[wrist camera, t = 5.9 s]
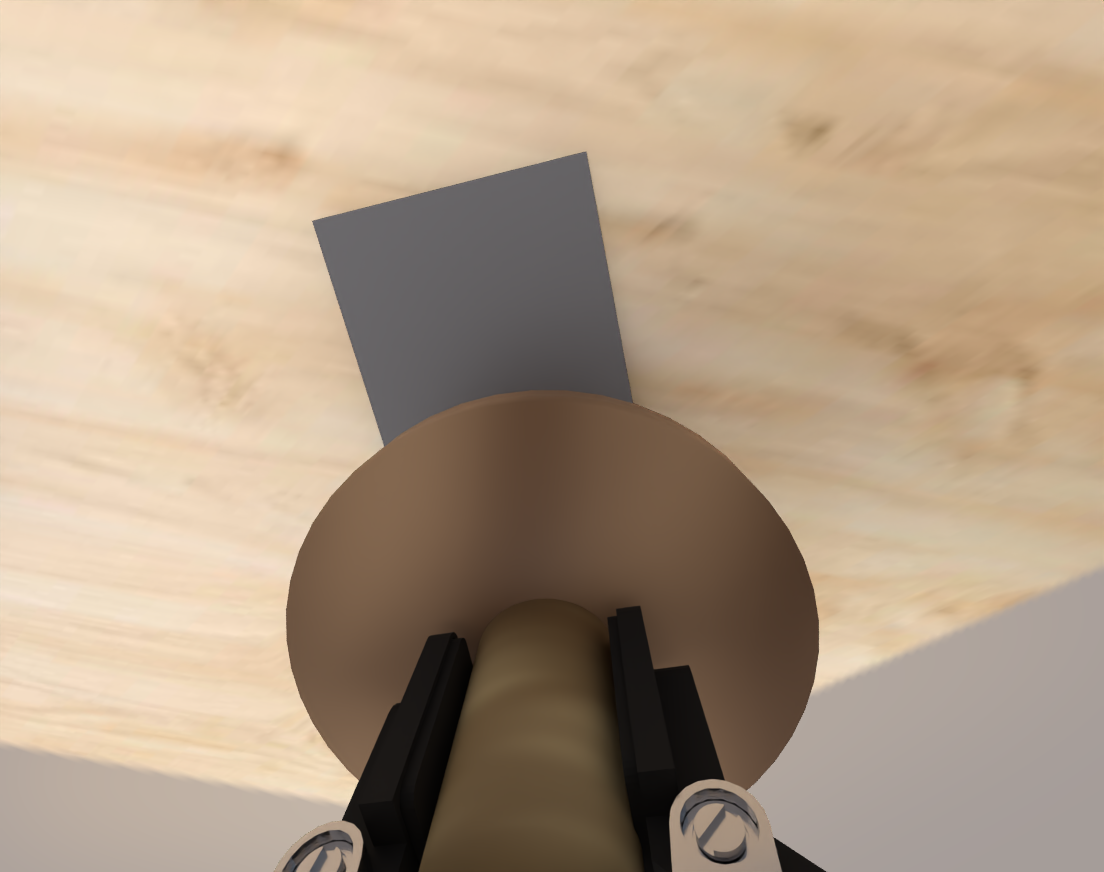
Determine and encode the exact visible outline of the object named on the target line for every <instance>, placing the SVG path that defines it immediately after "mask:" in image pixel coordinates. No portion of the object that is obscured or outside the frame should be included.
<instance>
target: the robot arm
mask: <svg viewBox="0 0 1104 872" xmlns="http://www.w3.org/2000/svg"><path fill="white" fill-rule="evenodd" d="M616 615H617V616H611V617H607V620H608V630H609V640H610V650H611V659H612V669H613V679H614V688H615V698H616V708H617V718H618V727H619V737H620V747H621V756H622V764H623V771H624V778H625V784H626V790H627V795H628V800H629V805H630V810H631V815H632V820H633V825H634V829H635V831H636V833H637V835H638V837H639V840H640V844H641V847H642V854H643V862H644V870H645V872H826V871H824V870H823V869H821V868H820V867H818V866H817V865H815V864H814V863H812V862H811V861H809V860H808V859H806V858H805V857H803V856H801V855H800V854H798V853H797V852H795V851H794V850H792V849H791V848H789V847H788V846H786V845H785V844H783V843H782V842H780V841H779V840H777V839H776V838H774V837H773V834H772V830H771V826H770V823H769V820H768V818H767V815H766V813H765V811H764V809H763V807H762V806H761V805H760V804H759V802H758V801H757V800H756V799H755V797H754V796H752V795H751V794H750V793H749V792H747V791H746V790H745V789H743V788H742V787H740V786H738V785H735V784H733V783H730V782H728V781H725V779H724V775H723V772H722V769H721V766H720V763H719V759H718V756H717V753H716V750H715V746H714V743H713V740H712V737H711V733H710V730H709V727H708V724H707V720H706V717H705V714H704V711H703V708H702V704H701V701H700V698H699V695H698V691H697V688H696V685H695V682H694V678H693V675H692V672H691V669H690V667H689V665H684V666H676V667H668V668H661V669H654V668H653V663H652V659H651V654H650V649H649V644H648V640H647V635H646V630H645V625H644V621H643V616H642V611H641V607H640V605H639V606H632V607H625V608H618V609H616ZM472 669H473V664H472V660H471V657H470V653H469V649H468V646H467V642H466V640H465V638H458V636H457V635H456V633H454V632H451V633H444V634H437V635H430V636H429V637H428V639H427V641H426V643H425V645H424V648H423V650H422V652H421V655H420V657H419V660H418V662H417V664H416V667H415V669H414V672H413V674H412V676H411V679H410V681H409V684H408V686H407V688H406V691H405V693H404V696H403V698H402V700H401V703H396V704H395V705H393V706H392V708H391V710H390V711H389V713H388V715H387V718H386V720H385V722H384V725H383V727H382V729H381V731H380V734H379V736H378V738H377V741H376V743H375V745H374V748H373V750H372V752H371V754H370V757H369V759H368V761H367V764H366V766H365V768H364V771H363V773H362V775H361V777H360V780H359V782H358V784H357V787H356V789H355V791H354V793H353V796H352V798H351V800H350V803H349V805H348V807H347V810H346V812H345V815H344V817H343V819H342V821H335V822H330V823H327V824H324V825H321V826H318V827H317V828H315V829H313V830H312V831H310V832H308V833H307V834H305V835H304V836H303V837H301V838H300V839H299V840H298V841H297V842H296V843H295V844H294V845H293V846H291V848H290V849H289V850H288V851H287V852H286V854H285V855H284V856H283V857H282V859H281V860H280V861H279V863H278V865H277V867H276V868H275V870H274V872H419V868H420V865H421V861H422V857H423V853H424V849H425V846H426V842H427V838H428V834H429V831H430V827H431V823H432V819H433V816H434V812H435V808H436V804H437V801H438V797H439V793H440V789H441V785H442V782H443V778H444V774H445V770H446V767H447V763H448V759H449V755H450V752H451V748H452V744H453V740H454V737H455V733H456V729H457V725H458V721H459V718H460V714H461V710H462V706H463V703H464V699H465V695H466V691H467V688H468V684H469V680H470V676H471V673H472Z"/></svg>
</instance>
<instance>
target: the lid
mask: <svg viewBox="0 0 1104 872" xmlns="http://www.w3.org/2000/svg"><path fill="white" fill-rule="evenodd" d="M639 605H640V607H641V611H642V616H643V621H644V625H645V630H646V635H647V640H648V644H649V649H650V654H651V659H652V663H653V668H654V669H661V668H668V667H676V666H684V665H689V667H690V669H691V672H692V675H693V678H694V682H695V685H696V688H697V691H698V695H699V698H700V701H701V704H702V708H703V711H704V714H705V717H706V720H707V724H708V727H709V730H710V733H711V737H712V740H713V743H714V746H715V750H716V753H717V756H718V759H719V763H720V766H721V769H722V772H723V775H724V779H725V781H728V782H730V783H733V784H735V785H738V786H740V787H742V788H743V789H745V790H748V789H749V788H750V787H751V786H752V785H753V784H754V783H756V781H758V779H759V778H760V777H761V776H762V775H763V774H764V773H765V771H766V770H767V769H768V768H769V767H770V766H771V765H772V764H773V763H774V762H775V760H776V759H777V757H778V756H779V754H780V753H781V752H782V750H783V749H784V747H785V746H786V744H787V743H788V741H789V740H790V738H791V737H792V735H793V733H794V731H795V729H796V727H797V725H798V723H799V721H800V719H801V717H802V715H803V713H804V710H805V708H806V705H807V702H808V699H809V696H810V693H811V689H812V686H813V683H814V679H815V672H816V666H817V660H818V653H819V619H818V613H817V607H816V601H815V594H814V589H813V586H812V583H811V580H810V577H809V574H808V571H807V567H806V564H805V561H804V559H803V557H802V555H801V553H800V551H799V549H798V547H797V545H796V543H795V541H794V539H793V537H792V535H791V533H790V531H789V529H788V528H787V526H786V525H785V523H784V522H783V521H782V519H781V518H780V516H779V515H778V514H777V512H776V511H775V509H774V508H773V507H772V505H771V504H770V502H769V501H768V500H767V499H766V498H765V497H764V496H763V495H762V493H761V492H760V491H759V490H758V489H757V488H756V487H755V486H754V485H753V484H752V483H751V482H750V481H749V479H748V478H747V477H746V476H745V475H744V474H743V473H742V472H741V471H740V470H739V469H738V468H737V467H736V466H735V465H734V464H733V463H732V462H731V461H730V460H729V459H728V458H727V457H726V456H725V455H724V454H723V453H721V452H720V451H719V450H717V449H716V448H715V447H714V446H712V445H711V444H710V443H709V442H707V441H706V440H705V439H703V438H702V437H701V436H700V435H698V434H696V433H694V432H693V431H691V430H689V429H688V428H686V427H684V426H682V425H681V424H679V423H677V422H676V421H674V420H672V419H670V418H668V417H666V416H663V415H661V414H659V413H656V412H654V411H651V410H649V409H647V408H644V407H642V406H639V405H637V404H633V403H630V402H626V401H622V400H618V399H615V398H611V397H607V396H603V395H597V394H590V393H582V392H575V391H567V390H529V391H521V392H513V393H505V394H497V395H492V396H489V397H485V398H481V399H477V400H473V401H470V402H466V403H462V404H459V405H457V406H455V407H452V408H450V409H447V410H445V411H442V412H440V413H438V414H435V415H433V416H430V417H429V418H427V419H425V420H423V421H422V422H420V423H418V424H417V425H415V426H413V427H411V428H410V429H408V430H406V431H405V432H403V433H401V434H400V435H399V436H397V437H396V438H395V439H394V440H392V441H391V442H390V443H389V444H387V445H386V446H385V447H384V448H382V449H381V450H380V451H378V452H377V453H376V454H375V455H374V456H372V457H371V458H370V459H369V460H367V461H366V462H365V463H364V464H363V465H361V466H360V467H359V468H358V469H357V470H355V471H354V472H353V473H352V475H351V476H350V477H349V478H348V479H347V480H346V481H345V482H344V483H343V484H342V485H341V486H340V487H339V488H338V489H337V490H336V492H335V493H334V494H333V495H332V496H331V497H330V499H329V500H328V502H327V503H326V505H325V506H324V507H323V509H322V510H321V512H320V513H319V515H318V516H317V518H316V519H315V521H314V522H313V524H312V526H311V528H310V530H309V532H308V534H307V536H306V538H305V540H304V542H303V544H302V547H301V549H300V551H299V554H298V557H297V560H296V564H295V567H294V570H293V574H292V577H291V580H290V587H289V594H288V601H287V608H286V629H287V645H288V651H289V657H290V663H291V669H292V672H293V675H294V678H295V682H296V685H297V688H298V691H299V694H300V697H301V699H302V701H303V703H304V705H305V708H306V710H307V712H308V714H309V716H310V718H311V720H312V722H313V724H314V725H315V727H316V729H317V730H318V732H319V733H320V735H321V736H322V738H323V739H324V741H325V742H326V744H327V746H328V747H329V748H330V749H331V751H332V752H333V753H334V754H335V755H336V757H337V758H338V759H339V760H340V761H341V763H342V764H343V765H344V766H345V767H346V769H347V770H348V771H349V772H350V773H352V774H353V775H354V776H355V777H356V778H357V779H358V780H360V777H361V775H362V773H363V771H364V768H365V766H366V764H367V761H368V759H369V757H370V754H371V752H372V750H373V748H374V745H375V743H376V741H377V738H378V736H379V734H380V731H381V729H382V727H383V725H384V722H385V720H386V718H387V715H388V713H389V711H390V710H391V708H392V706H393V705H395V704H396V703H401V700H402V698H403V696H404V693H405V691H406V688H407V686H408V684H409V681H410V679H411V676H412V674H413V672H414V669H415V667H416V664H417V662H418V660H419V657H420V655H421V652H422V650H423V648H424V645H425V643H426V641H427V639H428V637H429V636H430V635H437V634H444V633H451V632H454V633H456V635H457V636H458V638H465V640H466V642H467V646H468V649H469V653H470V657H471V660H472V664H473V669H472V673H471V676H470V680H469V684H468V688H467V691H466V695H465V699H464V703H463V706H462V710H461V714H460V718H459V721H458V725H457V729H456V733H455V737H454V740H453V744H452V748H451V752H450V755H449V759H448V763H447V767H446V770H445V774H444V778H443V782H442V785H441V789H440V793H439V797H438V801H437V804H436V808H435V812H434V816H433V819H432V823H431V827H430V831H429V834H428V838H427V842H426V846H425V849H424V853H423V857H422V861H421V865H420V868H419V872H645V870H644V862H643V854H642V847H641V844H640V840H639V837H638V835H637V833H636V831H635V829H634V825H633V820H632V815H631V810H630V805H629V800H628V795H627V790H626V784H625V778H624V771H623V764H622V756H621V747H620V737H619V727H618V718H617V708H616V698H615V688H614V679H613V669H612V659H611V650H610V640H609V630H608V620H607V617H611V616H617V615H616V609H618V608H625V607H632V606H639Z"/></svg>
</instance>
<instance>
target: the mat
mask: <svg viewBox="0 0 1104 872" xmlns="http://www.w3.org/2000/svg"><path fill="white" fill-rule="evenodd" d="M312 222H313V225H314V228H315V231H316V234H317V237H318V241H319V244H320V247H321V250H322V253H323V256H324V259H325V262H326V266H327V269H328V272H329V275H330V278H331V281H332V284H333V287H334V291H335V294H336V297H337V300H338V303H339V306H340V309H341V312H342V316H343V319H344V322H345V325H346V328H347V331H348V334H349V337H350V340H351V344H352V347H353V350H354V353H355V356H356V359H357V362H358V365H359V369H360V372H361V375H362V378H363V381H364V384H365V387H366V390H367V394H368V397H369V400H370V403H371V406H372V409H373V412H374V415H375V418H376V422H377V425H378V428H379V431H380V434H381V437H382V440H383V443H384V447H385V446H386V445H387V444H389V443H390V442H391V441H392V440H394V439H395V438H396V437H397V436H399V435H400V434H401V433H403V432H405V431H406V430H408V429H410V428H411V427H413V426H415V425H417V424H418V423H420V422H422V421H423V420H425V419H427V418H429V417H430V416H433V415H435V414H438V413H440V412H442V411H445V410H447V409H450V408H452V407H455V406H457V405H459V404H462V403H466V402H470V401H473V400H477V399H481V398H485V397H489V396H492V395H497V394H505V393H513V392H521V391H529V390H567V391H575V392H582V393H590V394H597V395H603V396H607V397H611V398H615V399H618V400H622V401H626V402H630V403H633V401H632V396H631V391H630V385H629V380H628V374H627V369H626V364H625V358H624V353H623V347H622V342H621V337H620V331H619V326H618V321H617V315H616V310H615V304H614V299H613V294H612V288H611V283H610V277H609V272H608V267H607V261H606V256H605V250H604V245H603V240H602V234H601V229H600V224H599V218H598V213H597V207H596V202H595V197H594V191H593V186H592V180H591V175H590V170H589V164H588V159H587V154H586V152H582V153H578V154H574V155H570V156H566V157H562V158H558V159H554V160H550V161H547V162H543V163H539V164H535V165H531V166H527V167H523V168H519V169H515V170H511V171H507V172H503V173H499V174H495V175H491V176H487V177H484V178H480V179H476V180H472V181H468V182H464V183H460V184H456V185H452V186H448V187H444V188H440V189H436V190H432V191H428V192H424V193H420V194H417V195H413V196H409V197H405V198H401V199H397V200H393V201H389V202H385V203H381V204H377V205H373V206H369V207H365V208H361V209H357V210H354V211H350V212H346V213H342V214H338V215H334V216H330V217H326V218H322V219H318V220H314V221H312Z"/></svg>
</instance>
